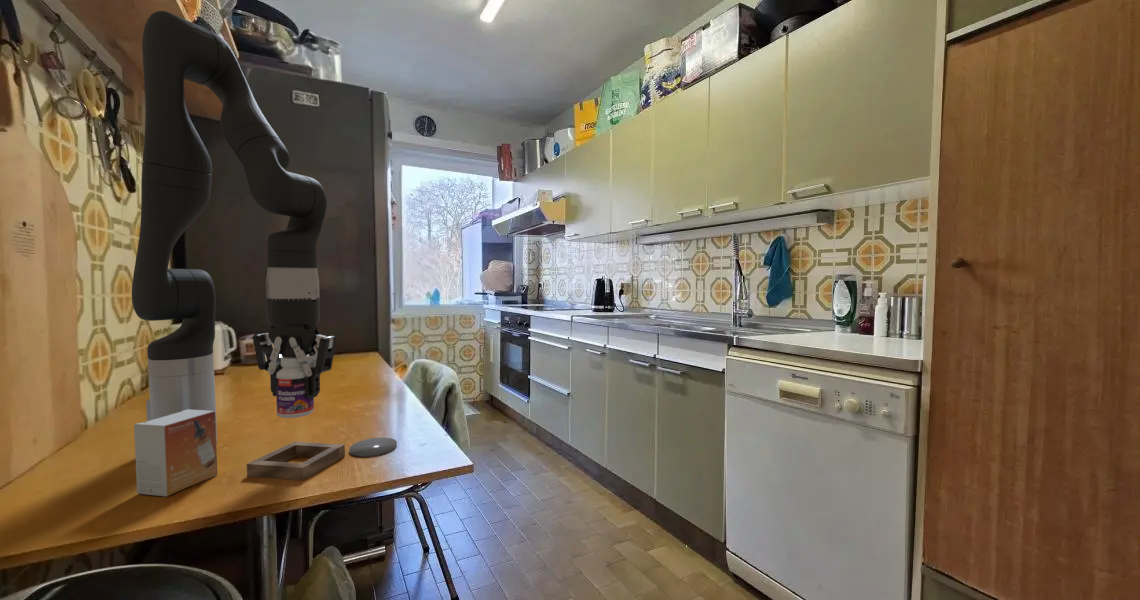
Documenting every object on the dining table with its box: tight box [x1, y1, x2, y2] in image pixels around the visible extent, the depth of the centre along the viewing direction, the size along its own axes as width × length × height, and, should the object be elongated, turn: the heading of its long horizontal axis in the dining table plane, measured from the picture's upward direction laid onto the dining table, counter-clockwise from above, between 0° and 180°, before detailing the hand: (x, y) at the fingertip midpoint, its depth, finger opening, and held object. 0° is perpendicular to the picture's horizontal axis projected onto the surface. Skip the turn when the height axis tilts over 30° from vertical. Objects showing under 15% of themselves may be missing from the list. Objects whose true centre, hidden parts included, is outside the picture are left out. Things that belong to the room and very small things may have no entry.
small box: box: [133, 409, 218, 497], centre depth 70 cm, size 8×6×10 cm
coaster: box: [349, 437, 398, 458], centre depth 85 cm, size 8×8×1 cm
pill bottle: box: [275, 354, 315, 419], centre depth 77 cm, size 5×5×10 cm
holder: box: [246, 441, 346, 481], centre depth 77 cm, size 10×10×2 cm
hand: (295, 395), depth 77 cm, fingers closed on pill bottle, 5 cm apart
